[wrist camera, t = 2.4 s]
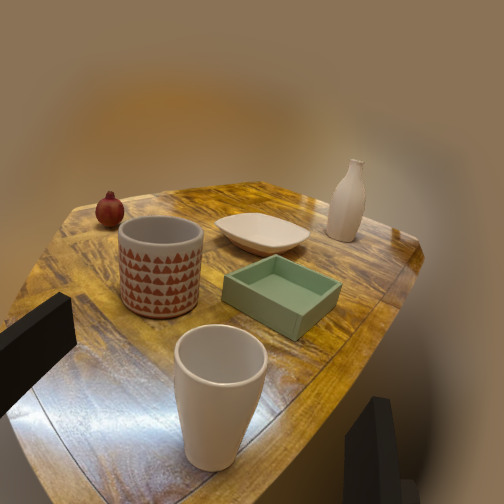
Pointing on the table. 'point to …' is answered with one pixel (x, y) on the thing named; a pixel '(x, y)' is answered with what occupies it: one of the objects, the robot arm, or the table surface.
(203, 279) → the table surface
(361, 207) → the bottle
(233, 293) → the bin
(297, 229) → the bowl
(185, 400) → the white cup
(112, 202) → the fruit
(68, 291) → the table surface
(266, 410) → the table surface
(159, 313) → the planter
